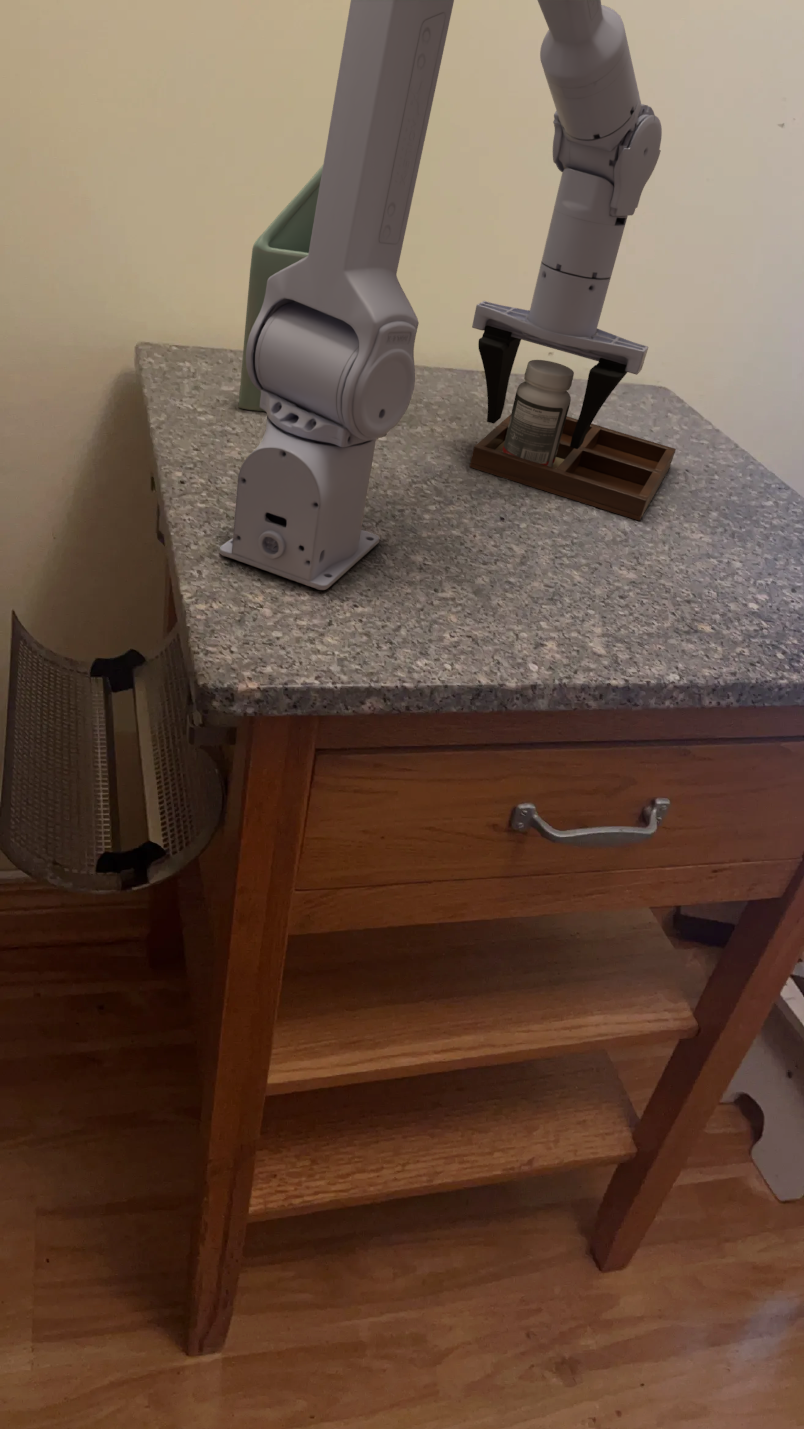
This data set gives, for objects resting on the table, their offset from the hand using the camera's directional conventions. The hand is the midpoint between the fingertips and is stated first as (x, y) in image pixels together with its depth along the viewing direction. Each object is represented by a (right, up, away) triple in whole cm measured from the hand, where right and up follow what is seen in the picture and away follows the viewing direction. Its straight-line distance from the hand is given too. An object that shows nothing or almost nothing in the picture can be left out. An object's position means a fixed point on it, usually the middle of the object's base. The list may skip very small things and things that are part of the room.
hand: (534, 432), depth 90 cm
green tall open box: (-18, +4, +6) cm, 20 cm away
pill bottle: (-1, -2, +2) cm, 3 cm away
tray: (+4, -2, +4) cm, 6 cm away
